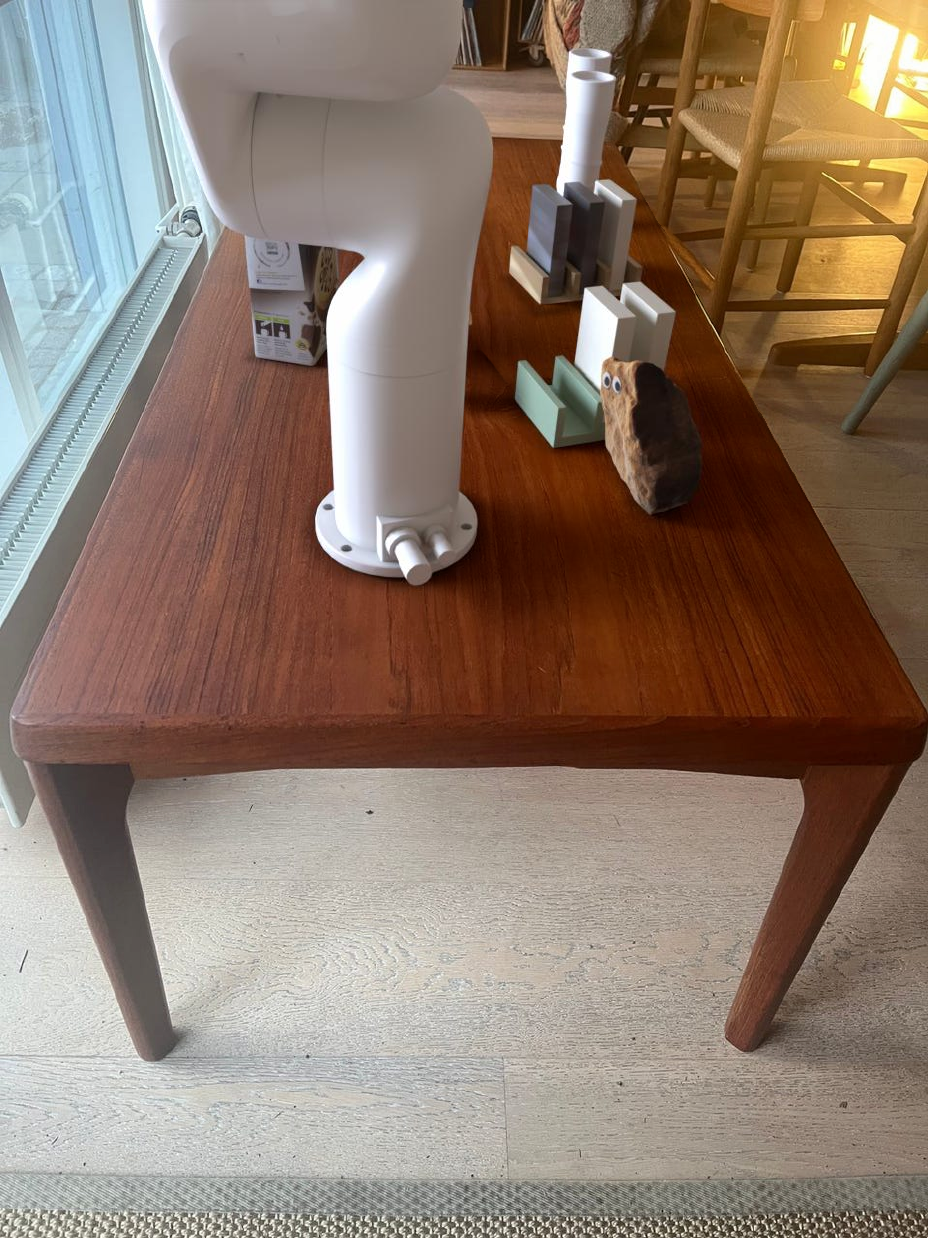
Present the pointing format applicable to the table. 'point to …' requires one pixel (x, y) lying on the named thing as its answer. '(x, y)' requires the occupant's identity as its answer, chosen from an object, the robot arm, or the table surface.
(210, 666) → the table surface
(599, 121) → the binoculars
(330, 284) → the coffee box
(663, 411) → the decorative rock
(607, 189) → the cream book
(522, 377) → the green and white rack
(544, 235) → the wooden rack with slabs
